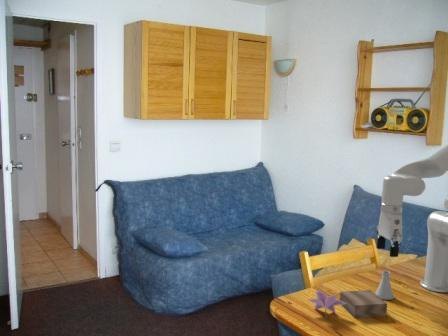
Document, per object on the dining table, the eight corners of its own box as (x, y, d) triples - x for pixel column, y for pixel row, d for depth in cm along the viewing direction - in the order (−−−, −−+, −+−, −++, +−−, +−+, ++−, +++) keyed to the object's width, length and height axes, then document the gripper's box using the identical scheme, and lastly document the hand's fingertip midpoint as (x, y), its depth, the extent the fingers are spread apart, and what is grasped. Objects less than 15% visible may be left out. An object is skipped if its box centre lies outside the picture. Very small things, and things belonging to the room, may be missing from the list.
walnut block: (369, 302, 176) (370, 289, 176) (386, 317, 165) (387, 303, 164) (339, 304, 174) (340, 291, 173) (354, 319, 162) (355, 305, 162)
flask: (391, 293, 185) (393, 269, 183) (396, 301, 178) (398, 276, 176) (372, 292, 185) (374, 268, 184) (376, 299, 178) (378, 274, 177)
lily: (350, 321, 162) (348, 293, 165) (334, 319, 153) (333, 289, 157) (319, 322, 169) (318, 294, 173) (302, 319, 161) (301, 290, 164)
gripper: (413, 214, 169) (408, 259, 171) (388, 203, 186) (384, 245, 188) (394, 214, 167) (389, 260, 170) (371, 203, 184) (367, 245, 187)
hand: (387, 252), depth 179 cm, fingers open, 9 cm apart
